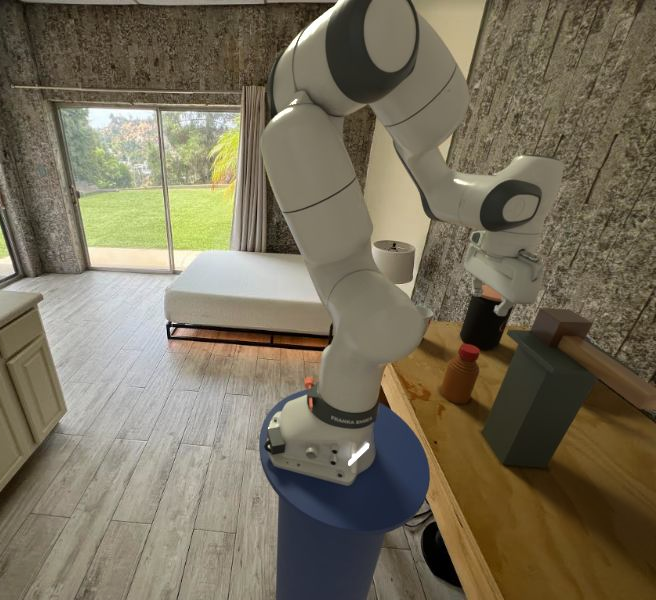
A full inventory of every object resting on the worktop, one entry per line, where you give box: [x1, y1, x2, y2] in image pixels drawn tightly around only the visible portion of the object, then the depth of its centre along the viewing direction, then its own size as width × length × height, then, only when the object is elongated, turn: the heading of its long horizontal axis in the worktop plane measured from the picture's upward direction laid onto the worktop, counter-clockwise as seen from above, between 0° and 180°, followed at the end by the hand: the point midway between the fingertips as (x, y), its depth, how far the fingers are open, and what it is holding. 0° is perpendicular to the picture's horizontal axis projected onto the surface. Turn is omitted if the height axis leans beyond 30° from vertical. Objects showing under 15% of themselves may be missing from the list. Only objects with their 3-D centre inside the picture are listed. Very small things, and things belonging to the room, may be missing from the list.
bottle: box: [439, 355, 480, 405], centre depth 78 cm, size 6×6×14 cm
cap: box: [457, 343, 481, 362], centre depth 75 cm, size 4×4×2 cm
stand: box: [481, 329, 640, 469], centre depth 60 cm, size 12×12×26 cm
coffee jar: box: [459, 284, 514, 351], centre depth 99 cm, size 11×11×18 cm
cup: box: [415, 305, 434, 336], centre depth 103 cm, size 8×8×10 cm
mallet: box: [529, 307, 656, 411], centre depth 49 cm, size 5×20×5 cm, turn 174°
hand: (486, 304), depth 70 cm, fingers open, 8 cm apart
